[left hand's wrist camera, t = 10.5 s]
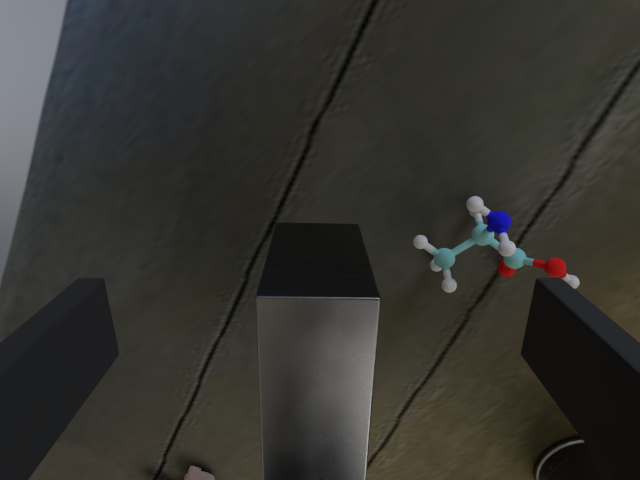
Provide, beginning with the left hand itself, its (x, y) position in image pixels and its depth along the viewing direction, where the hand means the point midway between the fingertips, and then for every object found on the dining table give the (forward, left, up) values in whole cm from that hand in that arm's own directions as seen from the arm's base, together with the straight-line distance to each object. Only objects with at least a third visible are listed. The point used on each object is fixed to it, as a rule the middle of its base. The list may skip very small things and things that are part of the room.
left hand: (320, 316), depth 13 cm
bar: (-3, +12, -12) cm, 18 cm away
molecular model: (-16, +2, -25) cm, 30 cm away
